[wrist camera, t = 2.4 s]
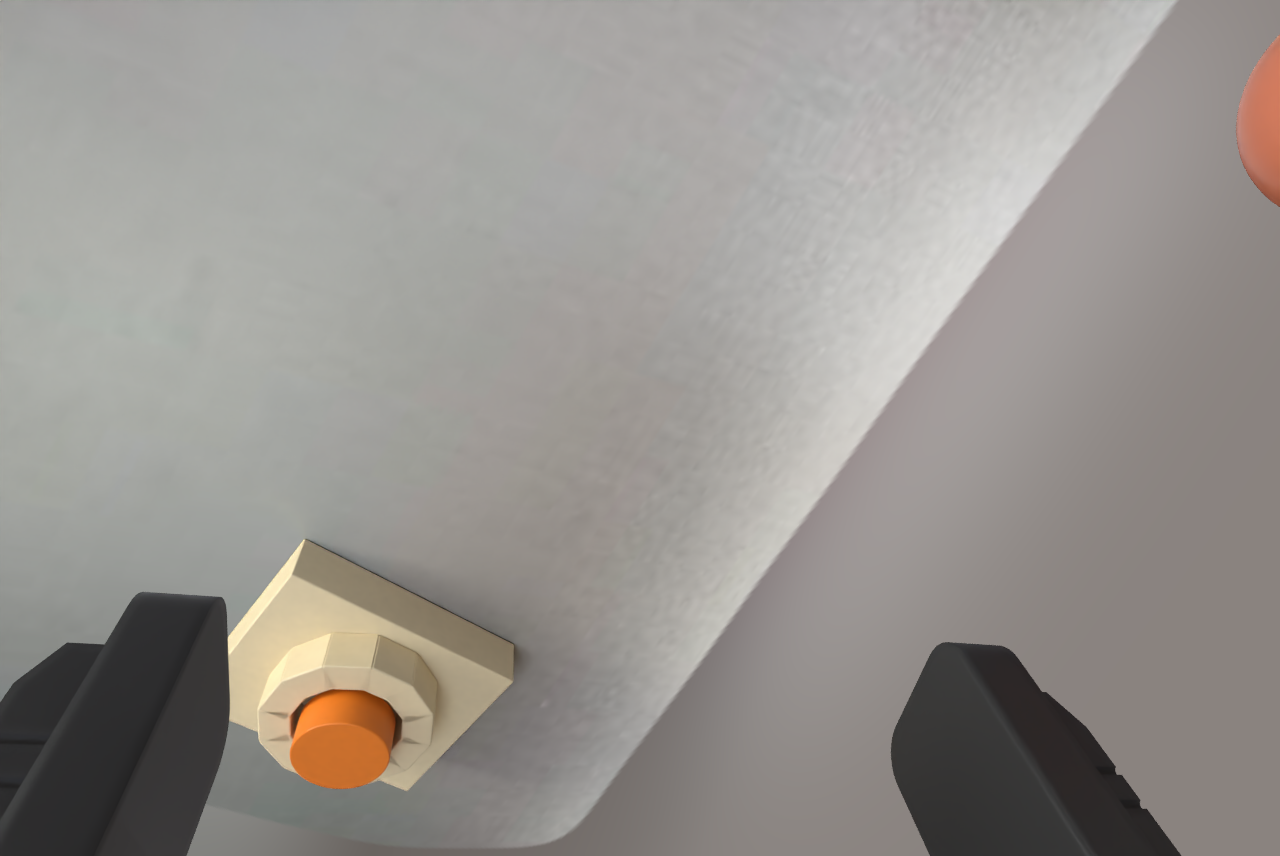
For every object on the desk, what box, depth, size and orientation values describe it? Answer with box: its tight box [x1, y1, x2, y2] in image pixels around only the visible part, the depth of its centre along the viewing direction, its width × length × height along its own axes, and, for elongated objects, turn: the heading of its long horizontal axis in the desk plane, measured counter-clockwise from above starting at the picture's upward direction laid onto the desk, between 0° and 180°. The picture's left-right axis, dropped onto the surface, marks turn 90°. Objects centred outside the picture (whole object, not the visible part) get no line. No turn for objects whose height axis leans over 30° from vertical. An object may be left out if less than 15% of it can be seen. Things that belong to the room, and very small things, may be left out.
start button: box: [290, 689, 396, 789], centre depth 32 cm, size 4×4×2 cm
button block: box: [228, 539, 514, 791], centre depth 34 cm, size 10×8×4 cm
